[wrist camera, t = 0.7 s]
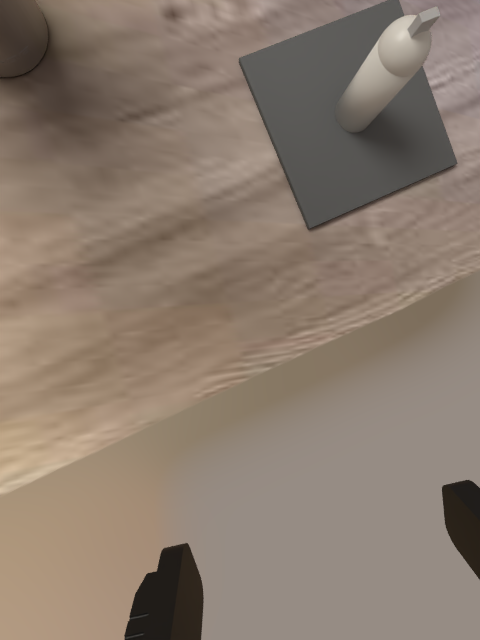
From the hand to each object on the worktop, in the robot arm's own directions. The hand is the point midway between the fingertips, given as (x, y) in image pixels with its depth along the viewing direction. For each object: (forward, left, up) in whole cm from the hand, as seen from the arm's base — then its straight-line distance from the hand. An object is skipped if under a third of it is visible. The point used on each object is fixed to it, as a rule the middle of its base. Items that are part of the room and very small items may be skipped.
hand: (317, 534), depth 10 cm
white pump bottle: (-21, +24, -27) cm, 42 cm away
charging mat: (-21, +24, -27) cm, 42 cm away
